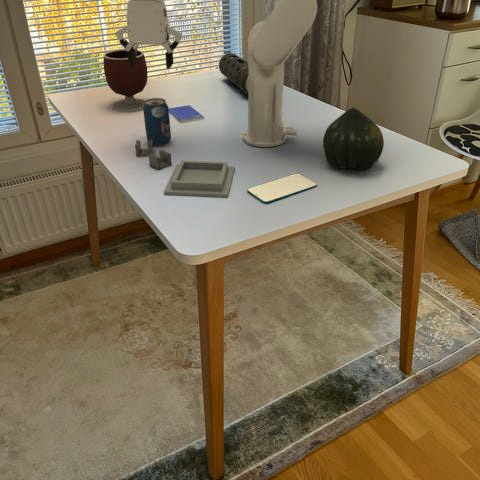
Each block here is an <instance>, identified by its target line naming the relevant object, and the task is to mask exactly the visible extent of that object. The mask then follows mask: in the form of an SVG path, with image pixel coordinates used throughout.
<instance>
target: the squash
mask: <svg viewBox="0 0 480 480" xmlns="http://www.w3.org/2000/svg"><path fill="white" fill-rule="evenodd" d="M322 139H323V140H322V142H323V143H322V147H323V153H324V155H325V158H326V159H325V160H326V161H327V162H328V164H329V165H330V166H332V167H334V168H342V169H348V168H349V167H350V168H353V169H356V170H358V171H368V170H369V169H371V168H372V167H373V165H374V164H375V163H377V162H378V161H379V159H380V157H381V156H382V153H383V150H384V145H385V141H384V136H383V132H382V131H381V128H380V127H379V126H378V125H377V124H376V122H374V121H373V120H372V119H371V118H370V117H368V116H367V115H366V114H365V113H363V112H362V111H360V110H359V109H357V108H355V107H354V106H353V107H351V108H350V109H347V110H346V111H344V112H343V113H342V114H341V115H339V116H338V117H337V118H336V119H334V120H333V121H332V122H331V123H330V124H329V125H328V126H327V127H326V130H325V132H324V135H323V138H322Z"/></svg>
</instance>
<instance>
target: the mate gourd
mask: <svg viewBox="0 0 480 480" xmlns="http://www.w3.org/2000/svg"><path fill="white" fill-rule="evenodd" d="M139 45H140V44H135V45H134V47H133V48H134V49H135V51H136V60H137V64H136V65H135V66H134V67H131V65H130V63H129V61H128V52H127V51H126V50H125V49H117V50H110V51H107V52H105V53H104V54H103V61H102V62H103V73H104V77H105V79H106V82H107V83H106V84H107V85H108V87H109V88H110V90H111V91H113V93H114V94H116V95H120V96H124V97H125V98H124V99H119V100H117V101H115V102H113V103H112V105H111V106H112V107H111V108H112V110H114V111H116V112H119V111H120V113H135V112H140V111H143V107H144V104H145V101H146V100H147V99H142V98H135V97H134V96H136V95H137V94H140V93H142V92H144V90H145V87H147V84H148V72H149V71H148V63H147V61H146V58H145V53H144V52H143V51H142V50H139Z"/></svg>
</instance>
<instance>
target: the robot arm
mask: <svg viewBox="0 0 480 480" xmlns="http://www.w3.org/2000/svg"><path fill="white" fill-rule="evenodd" d="M273 4H274V7H273V10H272V11H271V13H270V15H269V16H268V18H267V19H266V20H261V21H260V22H257V23H256V24H255V25H254V26H252V28H251V30H250V31H249V35H248V38H247V58H248V60H247V62H248V65H249V84H248V95H247V96H248V97H247V99H248V106H247V107H248V113H247V116H248V117H247V118H248V121H247V122H248V126H247V129H248V130H246V131H245V132H243V134H242V139H243V141H244V142H245V143H246V144H247V145H250V146H254V147H256V148H257V147H258V148H271V147H277V146H279V145H282V144H285V142H286V141H287V136H290V137H291V136H294V137H297V136H298V128H294V127H293V126H290V125H289V126H286V125H284V124H283V122H284V121H283V99H284V98H283V97H284V95H283V94H284V80H285V79H284V78H285V77H284V76H285V62H286V61H287V60H288V58H290V56H291V55H292V54H293V52H294V50H295V49H296V48H298V47H297V46H298V45H299V44H300V42H301V41H302V40H303V38H304V36H306V34H307V33H308V32H309V29H311V27H312V25H313V23H314V21H315V19H316V17H317V14H318V13H317V12H318V2H317V0H274V3H273ZM126 5H127V6H126V25H125V26H123V27H122V28H120V29H119V30H117V31H115V33H114V34H115V36H116V38H117V40H118V41H119V44H120V45H121V46H122V47H123V48H124V50H126V51H127V52H128V61H129V63H130V65H131V67H134V66H135V65H136V64H137V60H136V51H135V49H134V48H133V47H134V45H135V44H139V45H150V46H155V45H156V46H161V47H163V48H164V49H165V50H166V51H165V56H164V57H165V65H166V66H165V67H166V69H167V70H169V69H171V68H172V66H173V65H174V50H175V49H176V48H177V47H178V46H179V45H180V42H181V39H182V37H183V33H181V32H180V31H178V30H176V29H175V28H173V27H171V26H170V25H169V18H168V17H169V16H168V12H167V8H166V7H167V6H166V2H165V0H127V2H126ZM126 33H127V38H128V40H127V39H126V38H125V36H124V34H126ZM171 36H172V37H174V40H173V43H171V42H170V39H171Z"/></svg>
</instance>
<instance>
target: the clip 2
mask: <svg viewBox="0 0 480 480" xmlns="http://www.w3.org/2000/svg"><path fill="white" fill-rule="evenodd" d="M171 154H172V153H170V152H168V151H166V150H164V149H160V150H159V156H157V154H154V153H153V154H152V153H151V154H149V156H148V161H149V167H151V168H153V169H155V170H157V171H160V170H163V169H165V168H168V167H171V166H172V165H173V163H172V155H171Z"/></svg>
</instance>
